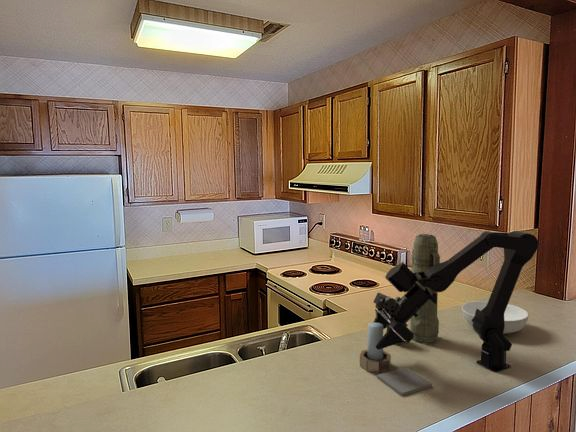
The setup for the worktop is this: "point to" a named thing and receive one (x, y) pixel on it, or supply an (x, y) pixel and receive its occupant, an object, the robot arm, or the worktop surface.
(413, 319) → the thermos
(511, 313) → the serving bowl
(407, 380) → the gray base plate
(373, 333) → the slate peg
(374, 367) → the bronze collar
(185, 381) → the worktop surface
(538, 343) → the worktop surface
